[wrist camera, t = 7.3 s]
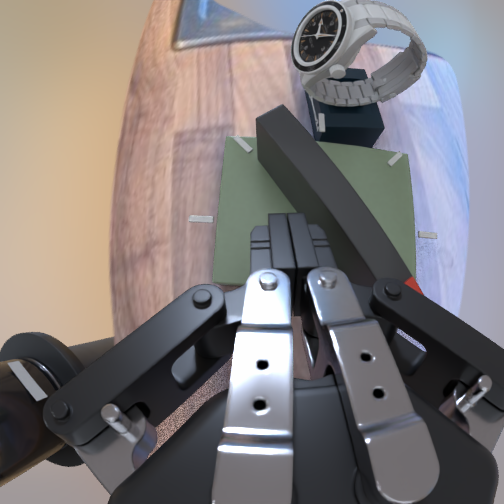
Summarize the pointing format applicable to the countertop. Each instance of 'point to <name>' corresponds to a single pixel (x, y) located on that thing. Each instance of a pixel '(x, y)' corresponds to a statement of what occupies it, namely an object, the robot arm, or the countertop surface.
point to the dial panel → (274, 201)
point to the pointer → (327, 200)
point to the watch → (348, 79)
